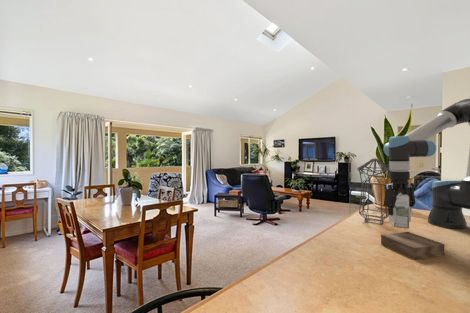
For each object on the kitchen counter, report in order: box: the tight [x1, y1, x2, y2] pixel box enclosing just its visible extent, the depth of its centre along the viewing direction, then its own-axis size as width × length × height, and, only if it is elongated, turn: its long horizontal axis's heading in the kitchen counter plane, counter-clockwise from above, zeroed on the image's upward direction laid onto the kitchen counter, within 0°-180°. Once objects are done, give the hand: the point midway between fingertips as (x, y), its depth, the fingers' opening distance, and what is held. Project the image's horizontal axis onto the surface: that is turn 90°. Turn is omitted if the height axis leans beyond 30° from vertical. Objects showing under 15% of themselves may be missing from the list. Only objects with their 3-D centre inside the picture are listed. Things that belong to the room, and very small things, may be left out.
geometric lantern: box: [356, 157, 391, 225], centre depth 127 cm, size 16×16×35 cm
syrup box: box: [390, 193, 410, 229], centre depth 104 cm, size 6×6×14 cm
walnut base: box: [380, 231, 445, 260], centre depth 91 cm, size 14×14×4 cm
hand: (400, 221), depth 104 cm, fingers closed on syrup box, 8 cm apart
